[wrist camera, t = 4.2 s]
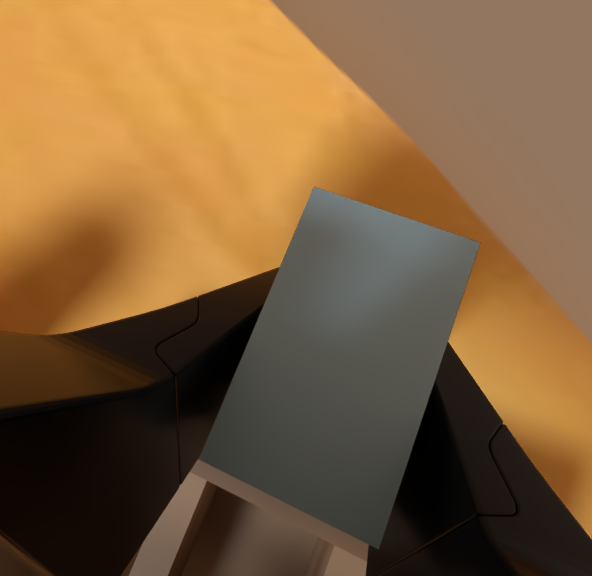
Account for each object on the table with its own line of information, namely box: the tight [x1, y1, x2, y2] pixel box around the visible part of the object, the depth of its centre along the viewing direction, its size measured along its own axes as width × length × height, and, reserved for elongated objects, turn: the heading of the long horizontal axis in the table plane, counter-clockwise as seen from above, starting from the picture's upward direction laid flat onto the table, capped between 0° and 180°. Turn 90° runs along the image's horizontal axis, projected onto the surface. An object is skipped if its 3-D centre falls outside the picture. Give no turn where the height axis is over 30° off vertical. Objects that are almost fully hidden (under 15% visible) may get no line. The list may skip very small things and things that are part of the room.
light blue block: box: [199, 187, 481, 549], centre depth 10 cm, size 5×3×10 cm, turn 158°
